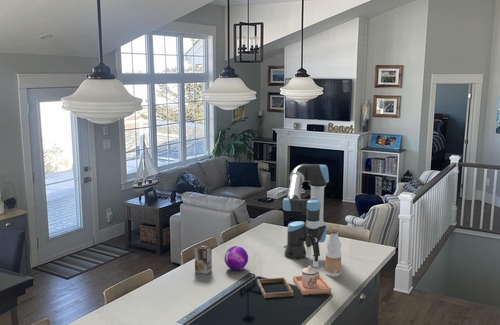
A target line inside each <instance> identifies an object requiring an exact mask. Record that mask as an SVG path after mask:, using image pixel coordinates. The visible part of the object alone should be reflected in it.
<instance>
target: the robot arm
mask: <svg viewBox="0 0 500 325" xmlns="http://www.w3.org/2000/svg"><path fill="white" fill-rule="evenodd" d="M329 179H330V177H329V168H328V166H327V165H326V164H319V163H318V164H317V163H315V164H313V163H310V164H309V163H303V164H302V163H301V164H299V165H297V166H295V167H294V168H293V169H292V170H291V171H290V174H289V181H290V182H289V188H288V193H287V197H285V198H283V200H282V210H283V211H287V212H303V213H304V212H305V213H306V221H305V222H304V221H301V220H300V221H299V220H298V221H297V220H296V221H292V222H290V223H288V225H287V237H286V238H287V239H286V240H287V241H286V242H287V244H286V247H285V250H284V257H286V258H287V259H293V260H300V259H304V258H306V259H307V258H312V257H313V258H312V259H313V260H312V261H313V262H312V263H313V264H312V268H313V267H315V268H316V267H319V257H320V256H321V253H320V246H319V243H324V242H326V240H327V239H326V238H327V232H328V225H327V224H326V222H325V221H324V204H325V203H324V201H325V200H324V198H325V187H326V186H327V183H329V182H330V180H329ZM304 182H307V183H308V186H310V198H301V193H302V185H303V183H304ZM312 250H313V254H312Z"/></svg>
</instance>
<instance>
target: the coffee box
mask: <svg viewBox="0 0 500 325" xmlns="http://www.w3.org/2000/svg"><path fill="white" fill-rule="evenodd" d="M193 250H194V272H195V273H199V274H205V275H208V274H210V273H211V272H212V269H213V266H212V265H213V264H212V263H213V262H212V261H213V260H212V251H213V250H212V246H210V245H205V244H204V245H203V244H198V245H197V246H196V247H194V249H193Z"/></svg>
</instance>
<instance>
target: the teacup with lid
mask: <svg viewBox="0 0 500 325" xmlns="http://www.w3.org/2000/svg"><path fill="white" fill-rule="evenodd" d="M319 275H320V272H319V271H318V270H317V269H316V268H313V267H312V265H309V266H307V267H304V268H303V269H302V270H301V276H302V286H303V287H305V288H315V287H316V286H317V279H318V278H319Z"/></svg>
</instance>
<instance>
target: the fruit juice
mask: <svg viewBox="0 0 500 325" xmlns="http://www.w3.org/2000/svg"><path fill="white" fill-rule="evenodd" d="M329 233H330V235H329V238H328V240H327V241H326V251H325V267H324V268H325V270H324V271H325V272H324V273H325V275H326V276H328V277H339V276H341V272H342V271H341V268H342V250H341V249H342V242H341V241H340V238H339V230H337V229H331V230H330V232H329Z"/></svg>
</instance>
